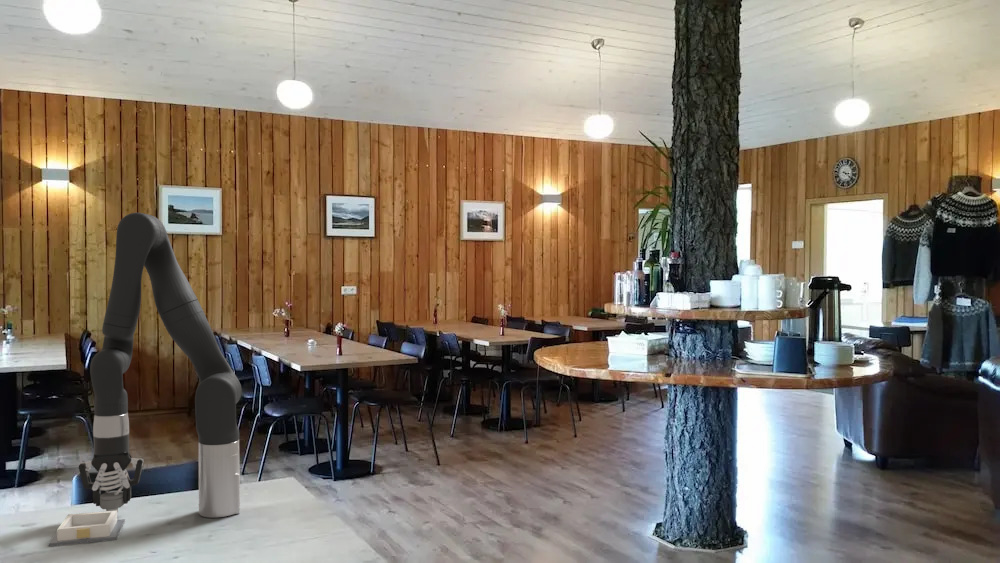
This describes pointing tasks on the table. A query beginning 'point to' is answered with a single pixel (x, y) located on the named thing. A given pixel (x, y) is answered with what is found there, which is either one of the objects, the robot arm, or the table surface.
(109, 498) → the light bulb
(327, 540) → the table surface
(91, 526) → the cream square tray
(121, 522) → the slate board
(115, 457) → the robot arm
